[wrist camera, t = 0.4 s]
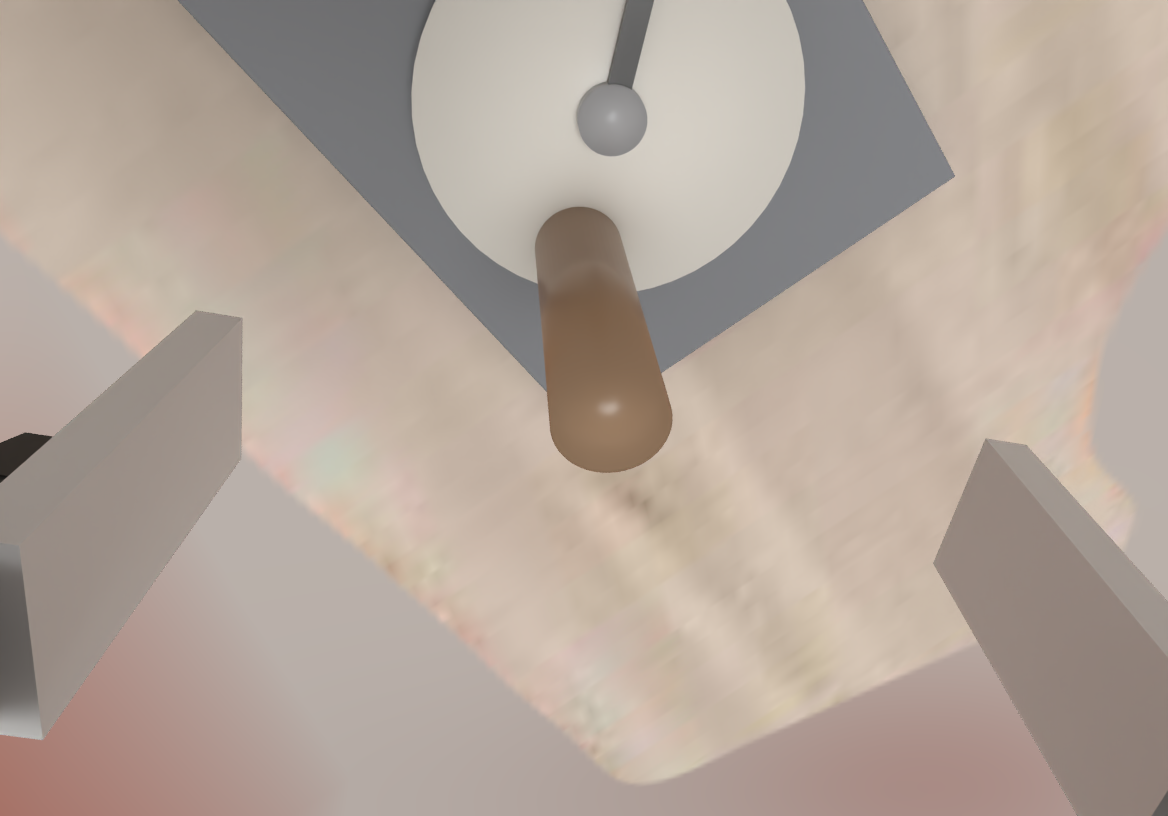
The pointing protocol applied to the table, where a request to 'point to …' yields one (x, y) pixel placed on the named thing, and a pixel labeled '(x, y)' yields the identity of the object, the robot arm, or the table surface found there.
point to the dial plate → (511, 303)
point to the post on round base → (606, 172)
